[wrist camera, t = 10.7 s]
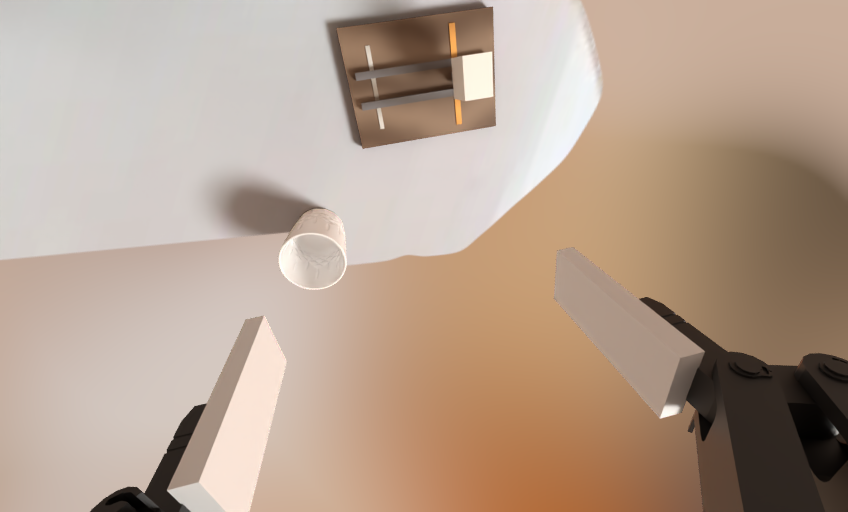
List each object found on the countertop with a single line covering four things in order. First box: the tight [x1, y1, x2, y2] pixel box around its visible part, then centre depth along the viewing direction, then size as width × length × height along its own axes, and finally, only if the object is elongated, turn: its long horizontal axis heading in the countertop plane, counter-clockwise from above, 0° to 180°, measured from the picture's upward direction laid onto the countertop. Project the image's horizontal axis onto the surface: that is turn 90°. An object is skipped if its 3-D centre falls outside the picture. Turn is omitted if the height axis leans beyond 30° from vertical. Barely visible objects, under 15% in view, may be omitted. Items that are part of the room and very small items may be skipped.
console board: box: [336, 7, 496, 149], centre depth 41 cm, size 13×18×2 cm
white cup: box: [278, 209, 347, 290], centre depth 44 cm, size 8×8×10 cm
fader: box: [451, 52, 493, 101], centre depth 37 cm, size 4×3×8 cm
